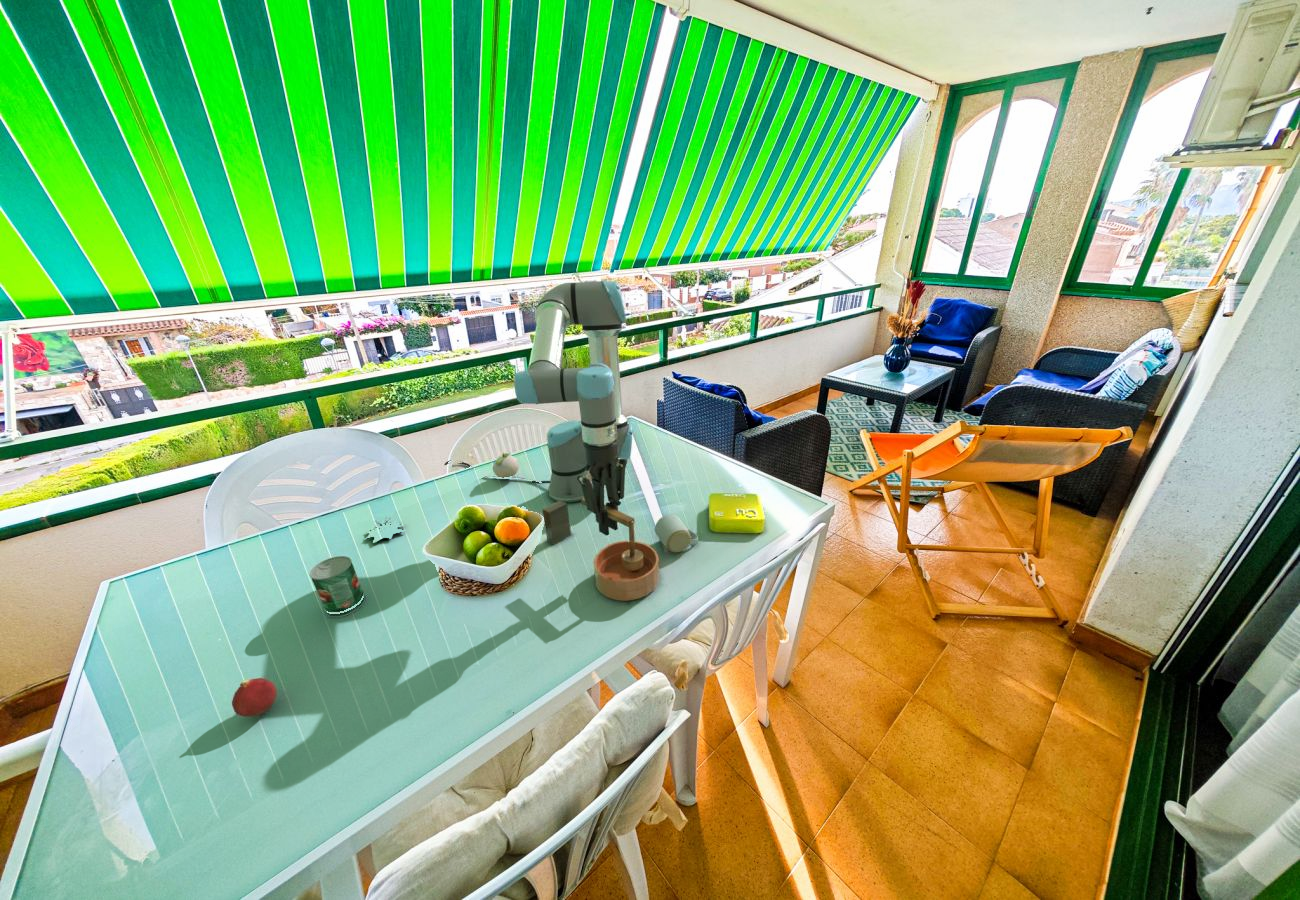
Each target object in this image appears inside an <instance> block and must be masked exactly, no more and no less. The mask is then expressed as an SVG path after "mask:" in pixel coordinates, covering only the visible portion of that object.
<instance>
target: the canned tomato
mask: <svg viewBox="0 0 1300 900" xmlns="http://www.w3.org/2000/svg"><path fill="white" fill-rule="evenodd" d="M309 577H310V579H311V582H312V583H313V586H314V588H315V591H316V592H317V595H318V598H319V599H320V602H321V604H322V606H323V609H324V611H325V610H326V611H328V612H340V611H344V610H346V609H348V608H351V607H352V606H354V605H355V604H357V603H358V602H359V601H360V600H361V598H362V596H363V593H364V590H363V587H362V585H361V582H360V580H359V577H358V575H357V571H356V570H355V567H354V565H353V562H352V559H351V558H350V557H349V556H347V555H339V556H338V555H337V556H333V557H330V558H327V559H324V560H323V561H320V562H318V563H317V564H316V565H315V566H313V568H311V570H310V571H309ZM365 602H366V595H365V594H364V598H363V600H362V601H361V603H360V604H359V605H357V606H356V607H355V608H353V609H351V610H349V611H347V612H344V613H340V614H329V613H327V612H326V611H325V614H326V616H327V617H329V618H334V619H335V618H342V617H343V618H344V617H347V616H349V615H351V614H353V613H355V612H356V611H358V610H359V609H360V608H361V607H362V606H363V605H364V604H365Z"/></svg>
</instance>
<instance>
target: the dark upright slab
mask: <svg viewBox="0 0 1300 900" xmlns="http://www.w3.org/2000/svg"><path fill="white" fill-rule="evenodd" d="M542 515H543V522H544V529H545V536H546V541H547V542H548V543H550V544H551V545H553V546H554V545H556V544H559V543H560V542H562V541H564V540H565V539H567V538H569V537H570V536H572V532H571V531H572V530H571V523H570V516H569V515H570V514H569V509H568V503H565V502H563V501H561V500H560V501H558V502H557V501H554V502H553V503H552V504H549V505H547V506H546V507H545V506H544V508H542Z"/></svg>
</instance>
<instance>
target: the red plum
mask: <svg viewBox="0 0 1300 900" xmlns="http://www.w3.org/2000/svg"><path fill="white" fill-rule="evenodd" d="M277 693H278V692H277V688H276V684H275V683H274V682H273V681H271V680H270V679H267V678H263V677H257V678H251V679H245V680H243V681H242V682H241V683H240V684H239V686H238V688H237V690H236V691H235V692H234V695H233V697H232V699H231V706H232V709H233V711H234V713H235V714H236V715H237V716H241V717H244V718H249V717H255V716H258V715H264V714H265V713H266V712H267V711H268V710H269V709H270V708H271V707H272V705H273V704H274V702H275V700H276V698H277Z"/></svg>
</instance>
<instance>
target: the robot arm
mask: <svg viewBox="0 0 1300 900" xmlns="http://www.w3.org/2000/svg"><path fill="white" fill-rule="evenodd" d="M534 320H535V323H536V326H535V332H534V336H533V342H532V347H531V352H530V357H529V362H528V367H527V369H524V370H519V371H518V372H516V373H515V375H514V379H513V384H514V385H513V386H514V393H515V397H516V399H517V401H518V403H520V404H523V405H543V404H555V403H557V404H558V403H573V402H575V403H576V402H578V406H579V414H580V420H578V421H577V420H569V421H568V420H567V421H563V422H560V423H557V424H555V425H554V426H552V427H550V428H549V430H548V431H547V434H546V441H547V445H546V446H547V448H548V449H547V450H548V457H549V462H550V463H549V464H550V471H551V475H550V480H540V481H541V482H542V483H539V482H536V481H537V480H533V481H532V482H530V483H532V484H535V485H536V484H537V485H541V484H542V485H543V484H549V485H548V496H549V498H550V499H551V500H553V501H554V502H558V501H560V500H561V501H563V502H565V503H567V504H575V503H579V502H582V500H581V499H583V498H584V499H585V503H586V506H585V507H586V510H587V511H589V512H590V513H592V514H594V515H595V522H596V524H598V531H599V533H601V534H602V535H604V536H606V537H608V536H610V529H612V530H614V531H618V529H619V527H618V522H617V521H615V520H613V519H611V518H609V517H608V514H607V511H606V510H604V504H605V505H607V506H609V507H611V508H613V509H615V510H618V511H619V507H620V506H621V504H622V501H621V500H623V499H624V498H625V486H626V485H625V482H626V468H627V464H628V460H629V459H630V458H631V455H632V449H633V447H632V446H633V432H634V431H633V424H631V423H629V421H628V418H627V416H625V414H623V402H622V388H621V387H622V386H621V374H620V373H621V372H620V357H619V342H618V341H619V339H618V336H619V334H620V332H622V330H623V324H626V322H627V316H626V310H625V305H624V300H623V295H622V289H621V285H620V284H619V282H617V281H613V280H597V281H580V282H579V281H578V282H577V281H576V282H564V283H561V284H557V285H556V286H554V287H552V288H551V289H550V290H549V291H547V292H546V293H545V294H544V295H543V296H542V297H541V299H540V300H539V301H538V303H537V304H536V308H535V312H534ZM569 326H581V328H582V332H583V333H584V334H585V335H586V336H587V339H588V349H589V350H588V351H589V362H590V363H589V365H587V367H571V368H562V365H563V364H562V363H563V357H564V347H565V337H566V330H567V329H569ZM449 461H450V460H448V461H446V462H445V463H444V464H443V465H444V466H447V465H448V464H449V463H448V462H449ZM461 462H462V463H458V464H460V465H464V466H466V467H468V468H469V467H470V466H471V467H472V465H471V464H470V463H467V462H464V461H461ZM605 489H606V496H607V502H606V503H605Z"/></svg>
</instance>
